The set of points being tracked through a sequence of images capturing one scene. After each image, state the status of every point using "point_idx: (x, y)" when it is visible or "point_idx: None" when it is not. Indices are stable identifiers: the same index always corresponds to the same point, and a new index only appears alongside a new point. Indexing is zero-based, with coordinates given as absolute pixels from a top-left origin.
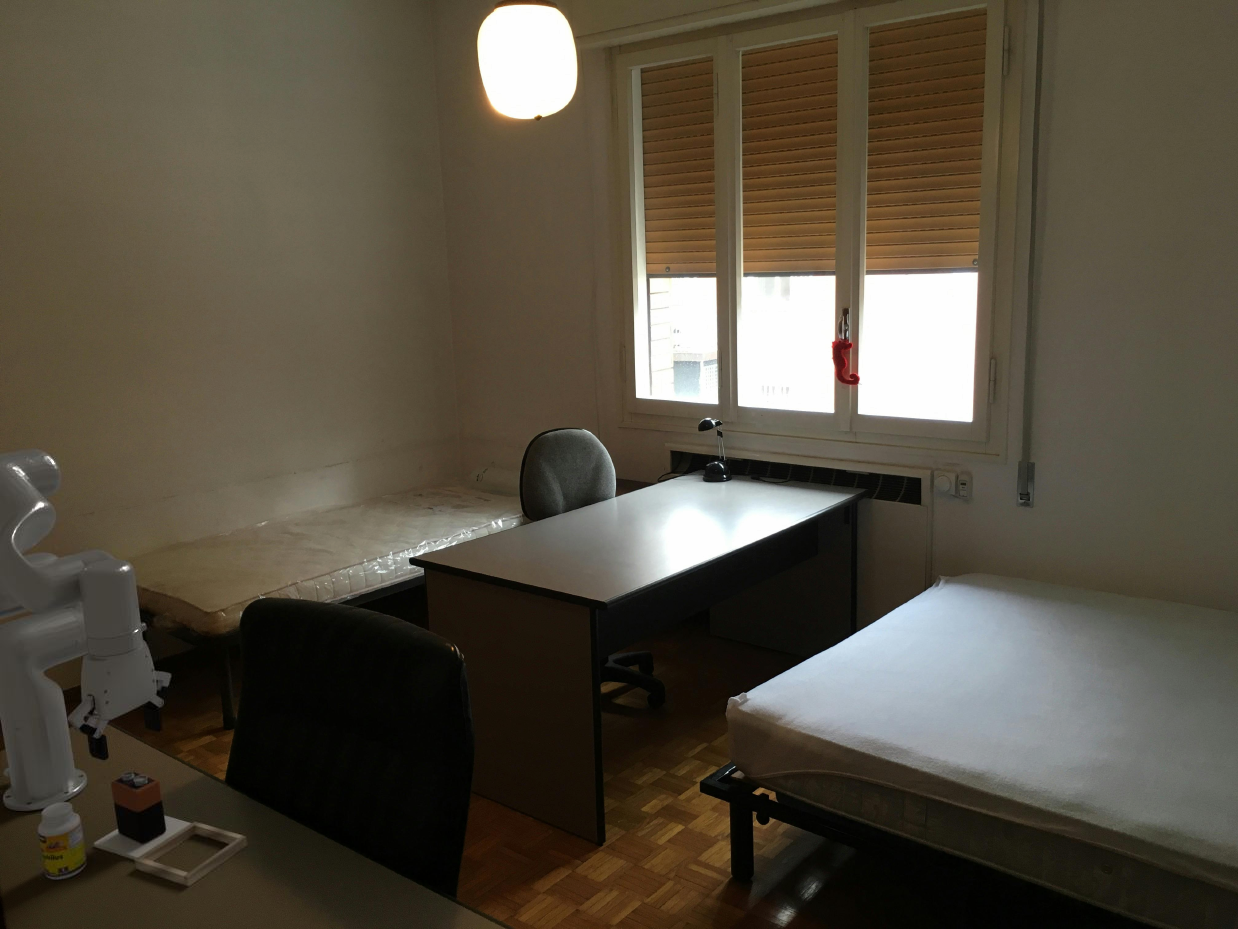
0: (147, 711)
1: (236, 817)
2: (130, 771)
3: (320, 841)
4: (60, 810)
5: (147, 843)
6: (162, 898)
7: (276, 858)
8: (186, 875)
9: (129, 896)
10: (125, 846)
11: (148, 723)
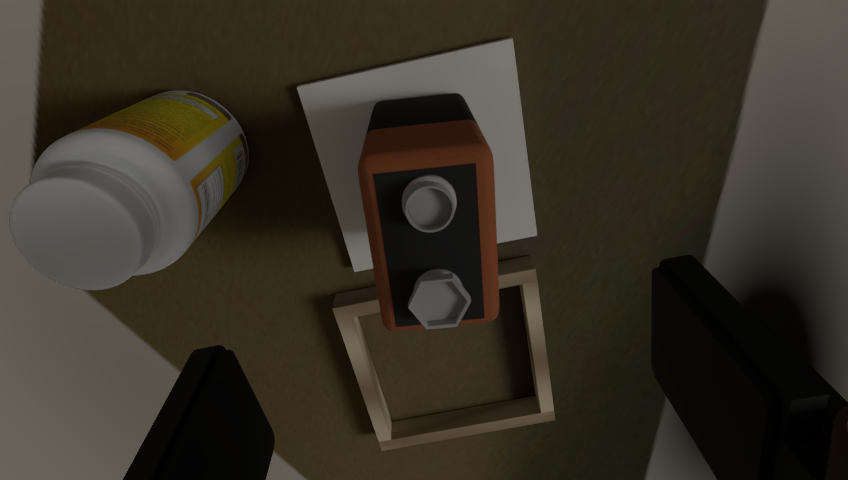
0: (738, 421)
1: (627, 284)
2: (450, 199)
3: None
4: (87, 265)
5: None
6: (326, 425)
7: (546, 474)
8: (383, 444)
9: (279, 373)
10: (356, 193)
11: (675, 330)
